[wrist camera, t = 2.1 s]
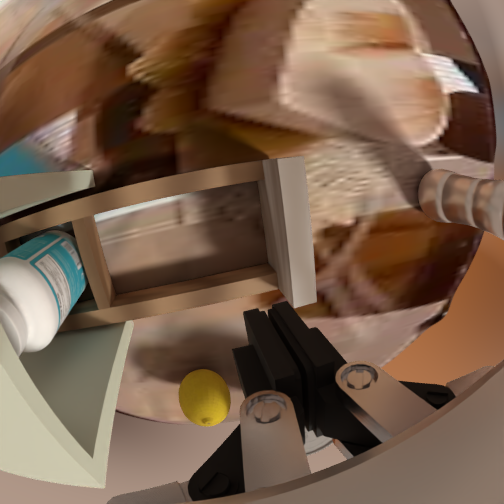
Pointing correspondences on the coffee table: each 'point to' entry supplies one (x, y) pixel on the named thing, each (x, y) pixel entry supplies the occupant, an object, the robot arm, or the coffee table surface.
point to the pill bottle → (39, 289)
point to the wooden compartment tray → (201, 289)
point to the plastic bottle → (463, 200)
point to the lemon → (204, 397)
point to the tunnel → (59, 374)
